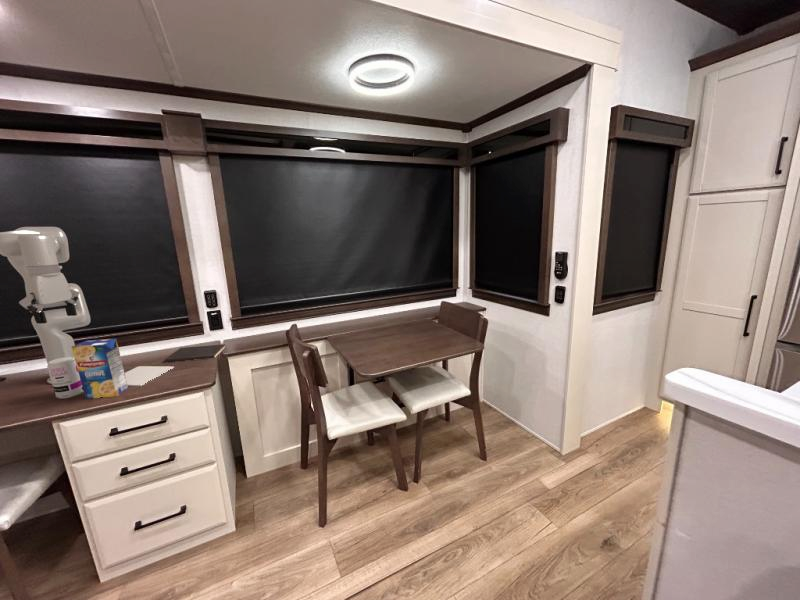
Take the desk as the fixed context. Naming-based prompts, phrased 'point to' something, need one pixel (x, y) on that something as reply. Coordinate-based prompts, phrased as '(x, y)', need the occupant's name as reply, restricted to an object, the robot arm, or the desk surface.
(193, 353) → the hardcover book
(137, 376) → the mat
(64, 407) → the desk surface
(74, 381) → the supplement can
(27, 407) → the desk surface
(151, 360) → the desk surface
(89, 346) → the beverage box
